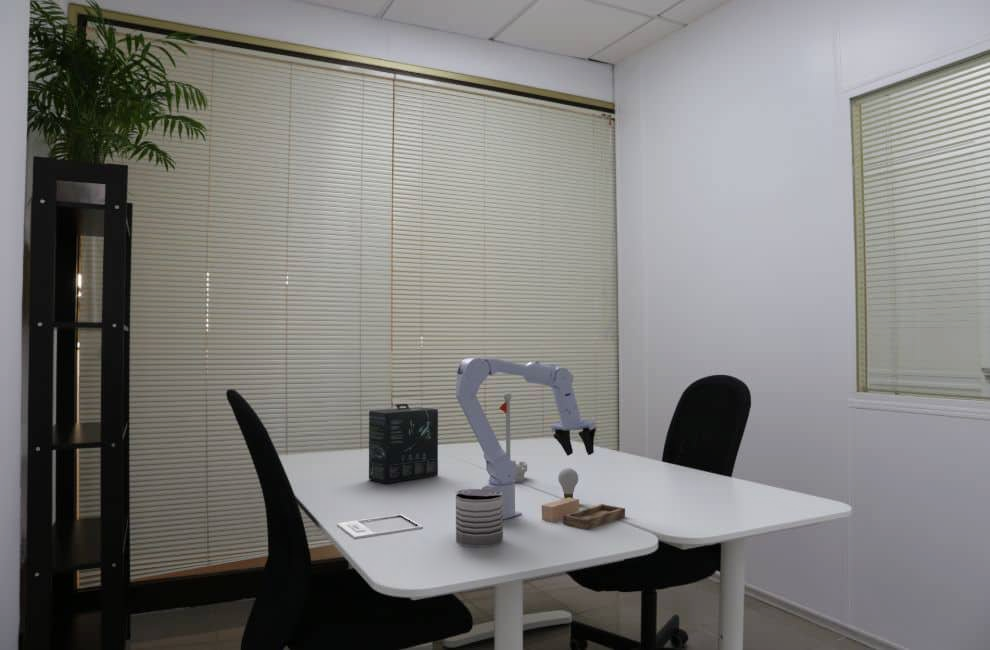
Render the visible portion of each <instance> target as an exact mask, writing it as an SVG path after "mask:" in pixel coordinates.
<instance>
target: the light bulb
mask: <svg viewBox="0 0 990 650" xmlns="http://www.w3.org/2000/svg"><path fill="white" fill-rule="evenodd" d="M557 476H558V477H557V478H558V483H559V485H560V486H561V488H562V492H563V499H565V498H568V497H570V498H574V492H575V489H576V486H577V484H578V483H579V474H578V472H577V471H576V469H573V468H571V467H566V468H562V470H561V471H560V472H559V473H558V475H557Z"/></svg>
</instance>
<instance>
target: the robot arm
mask: <svg viewBox="0 0 990 650" xmlns="http://www.w3.org/2000/svg"><path fill="white" fill-rule="evenodd" d="M497 373H503V374H508V375H514V376H519V377H523V378H524V380H525V382H527V383H531V384H537V385H543V386H549V387H551V390H552V393H553V397H554V401H555V404H556V408H557V412H558V415H559V420H560V422H558V423H557V422H556V423H553V424H551V425H550V427H551V431H552V433H554V434H552V435H553V438H554V439H555V440H556V441H557V442H558V443H559V445H560V446H561V448H562V450H563V451H564V452H565V454H566V456H567V457H568V456H570V455H572V454H573V446H572V442H571V434H570V433H571V431H575V430H577V431H578V430H581V431H579V432H578V436H580V439H581V440H582V443H583V446H584V448H585V452H586V453H587V456H591V455H593V454H594V453H595V450H594V449H595V447H594V446H595V445H594V442H595V435H596V432H597V426H596V422H595V420H586V419H583V418H582V417H581V414H580V410H579V406H578V403H577V398H576V395H575V390H574V388H573V382H574V374H572V372H571V371H570V370H569V369H568V368H567V367H566V368H565V367H560V366H559V367H558V366H556V364H550V365H549V364H543V363H541V362H540V361H539V360H533V361H529V362H527V363H526V364H521V363H520V364H519V363H516V362H511V361H507V360H503V359H500V358H499V359H498V358H490V357H489V358H488V357H487V358H483V357H466V358H464V359H463V360H461V362H460V363H459V366H458V367H457V369H456V386H455V396H456V397H455V398H456V399H457V401H458V403H459V405H460V408H461V409H462V411H463V414H464V415H465V417H466V420H467V422H468V423H469V426H470V427H471V430H472V432H473V434H474V435H475V437H476V440H477V442H478V444H479V446H480V448H481V449H482V452H483V458H484V460H485V463H486V464H485V465H486V466H485V467H486V472H487V474H488V475H489V479H488V482H487V484H486V485H484V486H482V488H481V489H485V490H495V491H500V492H503V493H502V499H503V520H505V519H510V518H512V517H516V516H521V515H523V512H521V511H517V510H516V482H515V480H514V479H515V478H516V476H517V472H518V470H517V466H516V465H515V463H514V462H512V461H511V460H512V459H511V458H510V459H509V458H508V456H507V454H506V450H504V449H503V448H502V446H501V444H500V442H499V440H498V438H497V435H496V434H495V431H494V430H493V427H492V426H491V423H490V422H489V420H488V417H487V416H486V414H485V411H484V409H483V407H482V406H481V403H480V401H479V399H478V397H477V394H478V392H479V389H480V387H481V385H482V384H483V383H484V381H485V380H486V379H487V378H488V377H489V376H493V375H495V374H497Z"/></svg>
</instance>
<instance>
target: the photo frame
mask: <svg viewBox="0 0 990 650" xmlns="http://www.w3.org/2000/svg"><path fill="white" fill-rule="evenodd" d="M397 516H398V517H402V516H403V517H402V518H404V519H405V520H408V521H409V520H410V522H412V523H413V524H415V525H416V524H417V526H412V527H411V526H410V527H406V528H405V527H404V528H399V529H393V530H385V531H379V532H374V531H372V530H371V529H369V527H367V526H365V525H363V524H362V522H361V521H368V520H375V521H377V520H376V519H381V520H385V519H384V518H388V519H392V518H391V517H395V518H398V517H397ZM360 522H361V523H360ZM368 522H369V521H368ZM337 525H338V526H340V527H341V528H342V529H343V530H342V529H341V528H340V527H339V528H340V529H341V530H342V531H343V532H345V531H346V532H347V533H348V534H347V533H346V532H345V533H346V534H347V535H349V536H350V537H351V536H352V537H351V538H353V539H354V540H356V539H355V538H357V539H363V538H362V537H364V538H370V537H376V536H375V535H377V536H382V534H383V535H388V534H395V533H401V532H407V531H408V530H409V531H414V529H415V530H421V529H420V528H422V529H424V526H423V525H422V524H420V523H418V522H417V521H414V520H413V519H411V518H409V517H407V516H405V515H404V514H402V513H400V514H392V515H387V516H379V517H378V516H377V517H373V518H366V519H365V518H364V519H358V520H351V521H350V520H349V521H345V522H344V521H343V522H338V523H336V526H337ZM338 526H337V527H338ZM409 531H408V532H409ZM369 536H370V537H369Z"/></svg>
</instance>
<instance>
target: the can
mask: <svg viewBox="0 0 990 650" xmlns="http://www.w3.org/2000/svg"><path fill="white" fill-rule="evenodd" d="M454 492H455V494H456V495H455V536H456V537H455V541H456V543H457V544H458V545H459V546H462V547H468V548H475V549H476V548H478V549H479V548H491V547H494V546H498V545H500V544H502V542H503V541H504V527H503V526H504V525H503V524H504V521H503V520H504V519H503V499H502V493H503V492H500V491H495V490H485V489H482V488H481V489H480V488H467V489H457V490H456V491H454Z"/></svg>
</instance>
